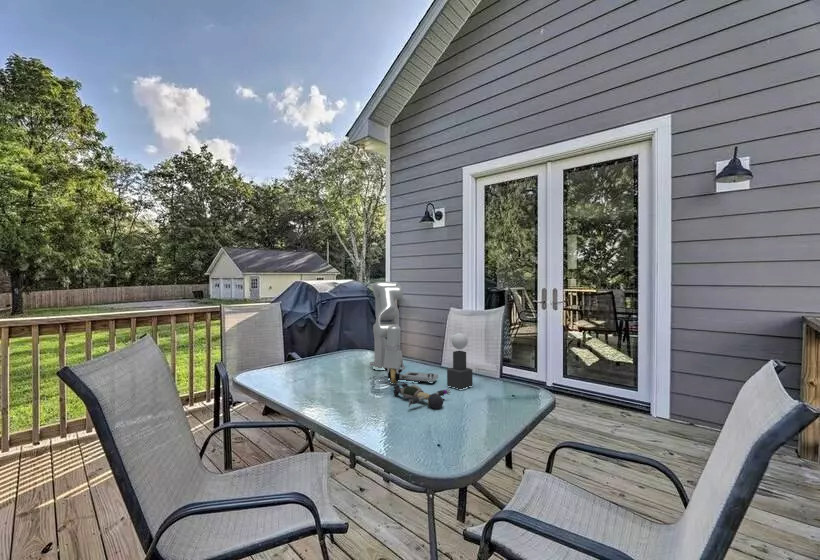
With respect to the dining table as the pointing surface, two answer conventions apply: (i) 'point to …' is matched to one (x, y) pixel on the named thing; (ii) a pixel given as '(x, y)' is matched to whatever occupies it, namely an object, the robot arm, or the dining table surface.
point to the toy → (420, 395)
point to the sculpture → (459, 365)
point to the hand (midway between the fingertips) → (393, 379)
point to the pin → (393, 376)
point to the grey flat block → (418, 376)
